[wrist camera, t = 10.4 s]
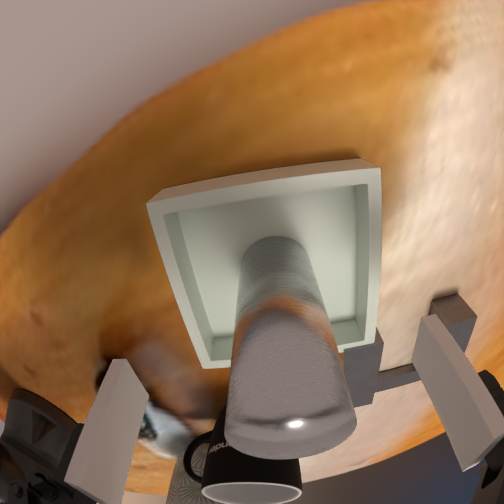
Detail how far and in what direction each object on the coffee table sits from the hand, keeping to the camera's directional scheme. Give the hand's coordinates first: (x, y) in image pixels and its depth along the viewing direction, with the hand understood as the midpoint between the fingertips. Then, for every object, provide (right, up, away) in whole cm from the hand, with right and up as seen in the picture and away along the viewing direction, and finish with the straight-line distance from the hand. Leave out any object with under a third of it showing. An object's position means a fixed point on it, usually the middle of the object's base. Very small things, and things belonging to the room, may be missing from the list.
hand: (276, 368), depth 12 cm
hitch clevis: (+12, -3, +12) cm, 17 cm away
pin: (+1, +4, +8) cm, 9 cm away
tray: (+1, +4, +8) cm, 9 cm away
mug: (-2, -13, +17) cm, 21 cm away
